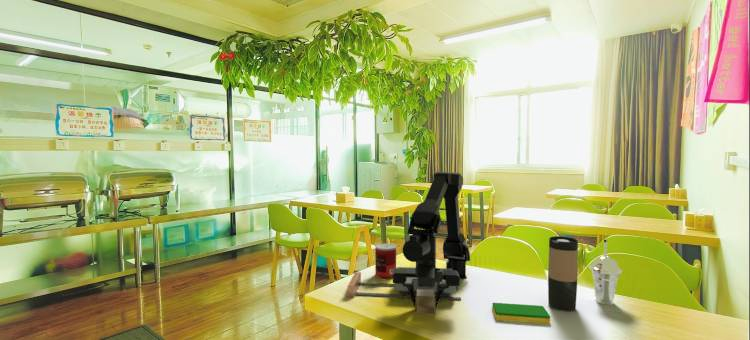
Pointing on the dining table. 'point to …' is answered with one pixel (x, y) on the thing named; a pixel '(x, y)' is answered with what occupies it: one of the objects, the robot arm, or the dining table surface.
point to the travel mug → (562, 273)
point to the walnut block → (425, 301)
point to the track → (357, 282)
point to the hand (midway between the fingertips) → (425, 306)
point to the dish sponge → (521, 313)
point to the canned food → (385, 260)
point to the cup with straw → (605, 277)
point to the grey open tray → (404, 289)
